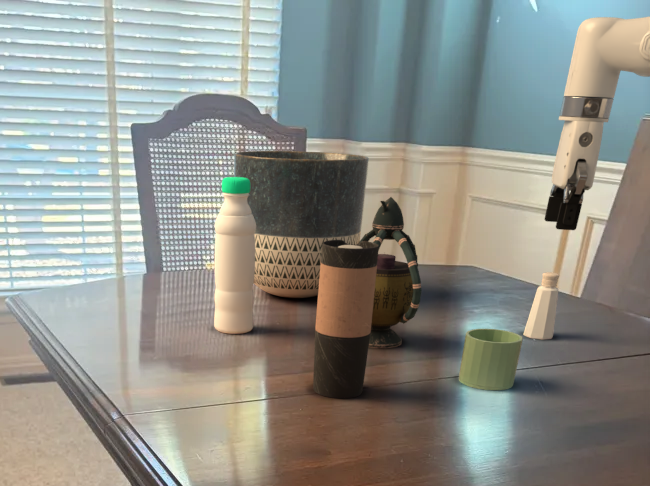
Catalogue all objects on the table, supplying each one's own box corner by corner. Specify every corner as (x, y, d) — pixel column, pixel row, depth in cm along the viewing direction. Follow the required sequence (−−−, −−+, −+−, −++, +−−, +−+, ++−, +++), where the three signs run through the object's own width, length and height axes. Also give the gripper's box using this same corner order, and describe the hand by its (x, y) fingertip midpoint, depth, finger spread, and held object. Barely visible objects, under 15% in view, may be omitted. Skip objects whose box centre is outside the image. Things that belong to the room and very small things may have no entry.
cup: (508, 375, 119) (517, 330, 116) (517, 392, 112) (526, 344, 109) (456, 372, 120) (463, 327, 117) (461, 388, 113) (469, 341, 110)
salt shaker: (519, 331, 143) (531, 269, 138) (548, 332, 143) (562, 270, 138) (527, 339, 138) (540, 275, 133) (557, 340, 138) (572, 276, 133)
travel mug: (333, 402, 107) (346, 250, 97) (300, 387, 112) (309, 241, 102) (375, 393, 110) (392, 246, 100) (341, 379, 116) (353, 237, 106)
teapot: (346, 354, 127) (360, 202, 116) (333, 317, 149) (343, 186, 137) (419, 356, 127) (440, 204, 116) (395, 319, 149) (411, 187, 137)
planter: (213, 285, 172) (214, 150, 158) (319, 279, 181) (328, 151, 168) (262, 313, 151) (268, 159, 137) (379, 304, 160) (395, 159, 147)
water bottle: (206, 328, 139) (206, 176, 127) (235, 322, 144) (238, 175, 131) (231, 337, 135) (233, 180, 122) (261, 330, 139) (266, 178, 127)
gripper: (624, 112, 115) (594, 234, 124) (596, 111, 130) (570, 220, 139) (573, 110, 116) (546, 231, 124) (550, 109, 131) (528, 217, 139)
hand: (559, 225), depth 131 cm, fingers open, 9 cm apart
